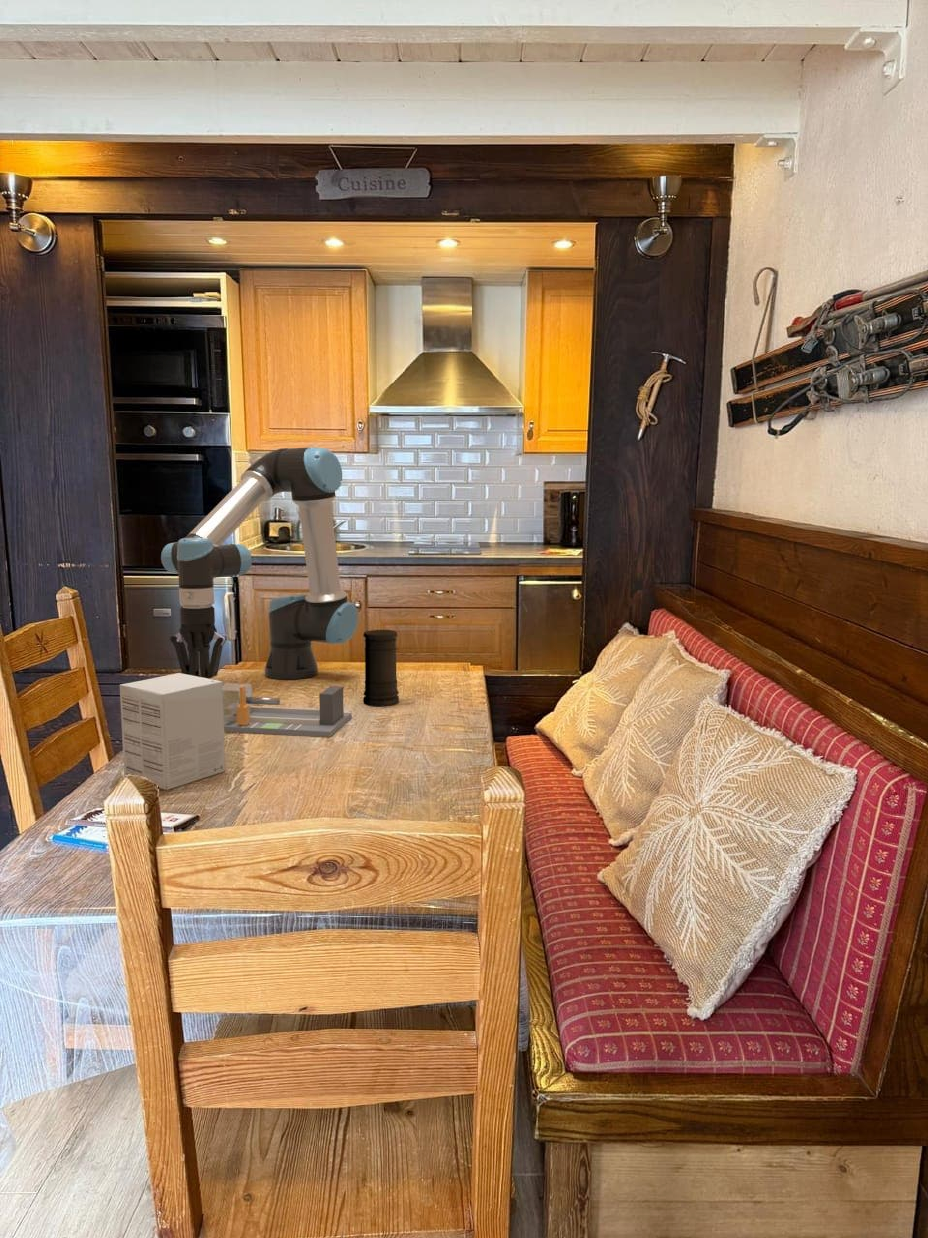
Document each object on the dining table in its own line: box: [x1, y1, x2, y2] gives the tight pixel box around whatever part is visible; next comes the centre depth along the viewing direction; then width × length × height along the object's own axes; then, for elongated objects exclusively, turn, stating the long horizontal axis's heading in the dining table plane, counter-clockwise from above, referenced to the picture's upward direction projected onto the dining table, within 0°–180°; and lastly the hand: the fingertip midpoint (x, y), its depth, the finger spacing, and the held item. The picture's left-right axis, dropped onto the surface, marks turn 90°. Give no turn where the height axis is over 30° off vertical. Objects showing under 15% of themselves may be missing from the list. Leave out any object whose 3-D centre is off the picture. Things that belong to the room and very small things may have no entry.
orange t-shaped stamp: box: [237, 686, 250, 725], centre depth 184 cm, size 2×2×8 cm
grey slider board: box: [223, 685, 353, 738], centre depth 189 cm, size 16×32×8 cm, turn 81°
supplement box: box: [119, 672, 227, 791], centre depth 154 cm, size 13×13×18 cm
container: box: [362, 629, 400, 707], centre depth 209 cm, size 9×9×18 cm
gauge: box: [222, 682, 281, 716], centre depth 189 cm, size 12×14×6 cm
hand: (201, 707), depth 193 cm, fingers closed
